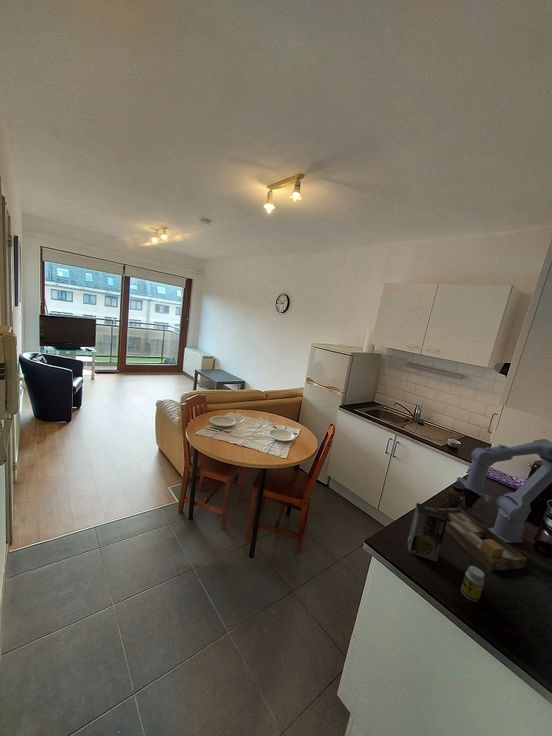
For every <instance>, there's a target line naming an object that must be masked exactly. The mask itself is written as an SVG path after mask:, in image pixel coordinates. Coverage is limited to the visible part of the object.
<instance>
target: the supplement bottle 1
mask: <svg viewBox="0 0 552 736" xmlns="http://www.w3.org/2000/svg"><path fill="white" fill-rule="evenodd" d="M463 488H464V487H463V485H460V484H457V483H454V484H453V485H452V487H450V488H449V491H448V495H447V499H446V503H445V506H446V508H461V509H462V504H463V500H464V499H465V496H464V492H463Z"/></svg>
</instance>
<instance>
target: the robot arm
mask: <svg viewBox="0 0 552 736" xmlns="http://www.w3.org/2000/svg"><path fill="white" fill-rule="evenodd" d="M529 455H538V456H539V458H540V460H541V464H542V465H541V466H540V467H539V468H538V469H537V470H536V471H535V472H534V473H532V475H531V476H529V478H527V480H526V481H525V482H524V483H523V484H522V485H521V486H520V487H518V488H517V489H516V490H515V491H514V492H506V493H505V494H504V495H502V496H499V497H498V498H497V499H496V506H497V507H498V509H497V510H498V513H497V516H496V518H495V523H494V526H493V527H488V528H487V529H488V530H490V531H491V532H492V533H494V534H495V535H496V536H498V537H499V538H500V539H502V540H503V541H504V542H506V543H507V544H513V543H523V542H524V541H523V540H522V536H523V533H524V530H525V523H524V522H525V521H527V519H528V516H529V515H530V513H531V512H532V509H531V505H530V503H532V502H533V501H534V500H535V499H536V498H537V497H538V496H539V495H540V494H541V493H542V492H543V491H544V490H545V489H546V488H547V487H548V486H549V485H550V484H551V483H552V441H550V440H548V439H546V438H541V439H534V440H533V441H532V442H528V443H524V444H520V445H515V446H510V447H508V446H507V445H503V444H498V446H493V447H485V448H482V447H476V448H474V449H473V450H472V451H470V457H471V465H470V467H469V470H468V471H469V472H468V475H467V479H464V478H463V477H459V476H458V477H457V478H456V482H457V483H459V484H461V486H464V487H463V493H464V505H465V506H464V507H466V508H468V509H471V508H472V507H473V506H474V505H475V503H476V502H477V501H478V500H480V499H481V498H482V499H484V501H485V502H487V503H491V502H492V499H493V497H492V496H491V495H490V494H488V492H486V491H485V490H484V485H485V482H486V478H487V475H488V472H489V467H491V466H493V465H494V464H495V463H499V462H505V461H511V460H512V459H513V458H514V457H519V456H529Z"/></svg>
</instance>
